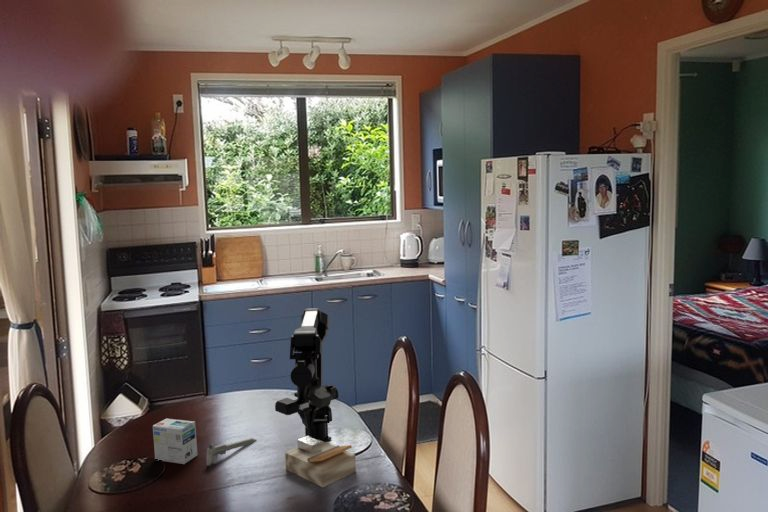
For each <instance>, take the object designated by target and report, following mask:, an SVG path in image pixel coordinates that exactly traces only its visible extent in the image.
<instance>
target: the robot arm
mask: <svg viewBox="0 0 768 512" xmlns="http://www.w3.org/2000/svg"><path fill="white" fill-rule="evenodd" d="M321 309H322V308H318V307H313V308H312V307H311V308H304V309H303V313H302V314H301V317H300V318H301V319H300V323H301V324H300V327H299V328H298V327H297V328H296V329H294V331H293V334H292V335H291V336H290V345H289V346H290V347H289V360H295V362H294V365H293V368H292V370H291V372H290V380H291V382H292V384H293V385H294V386H296V392H294V394H293V395H294V396H293V397H296V399H292V398H290V397H286V398H282V399H279V400H276V402H275V404H274V408H275V410H274V411H275V412H277V413H280V414H283V415H285V416H291V415H293V414H296V413H297V414H298V415H299V418H300V419H301V422H302V425H304V428H305V429H304V431H305V432H304V433H305V434H304V435H305V436H304V437H306V436H309V437H312V438H314V439H316V440H317V439H319V440H321V441H324V442H326V443H327V442H329V441H330V440H332V437H331V436H329V424H330V423H331V422H332V421H333V412H332V407H330V405H331V403H332V402H331V401H333V400H334V401H335V400H337V399H339V391H338V388H336V386H335V385H334V384H330V385H328V384H325V385H323V343H324V342H325V340H326V338H327V336H328V330H330V317H329V316H328V314H327V313H325V312H324V311H322V310H321Z"/></svg>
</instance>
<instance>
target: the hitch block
mask: <svg viewBox="0 0 768 512" xmlns="http://www.w3.org/2000/svg"><path fill="white" fill-rule="evenodd" d="M317 440H319V439H317ZM319 441H321V440H319ZM321 442H322V450H321V451H319V452H316V453H314V454H310V453H306V452H305V451H304V450H301V449H299V448H298V446H297V447H294V448H293V449H290V450H288V451H286V452H284V453H285V455H284V457H285V459H284V460H285V470H287V471H288V472H291V473H292V474H294V475H297V476H299V477H300V478H303V479H305V480H307V481H309V482H311V483H313V484H315V485H317V486H319V487H321V488H324V487H326V486H328V485H331V484H333V483H336V482H337V481H340V480H342V479H344V478H345V477H348V476H349V475H352V474H354V473H356V469H357V468H356V467H357V466H356V465H357V464H356V454H355V453H352V452H350V451H348V450H345V451H343V452H341V453H338V454H336V455H334V456H331V457H329V458H327V459H325V460H322V461H315V462H308V460H307V459H308V458H310V457H312V456H315V455H317V454H319V453H322V452H324V451H327V450H329V449H331V448H334V447H336V446H335V445H334V444H331V443H328V442H327V441H326V442H324V441H321Z"/></svg>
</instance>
